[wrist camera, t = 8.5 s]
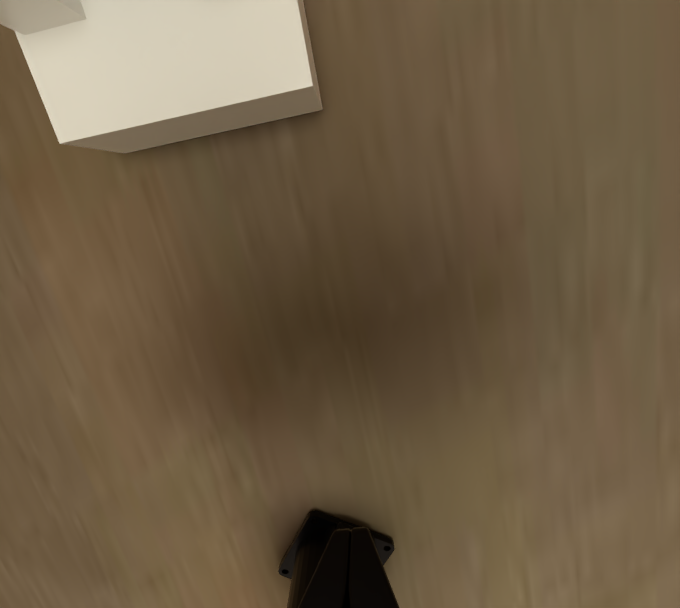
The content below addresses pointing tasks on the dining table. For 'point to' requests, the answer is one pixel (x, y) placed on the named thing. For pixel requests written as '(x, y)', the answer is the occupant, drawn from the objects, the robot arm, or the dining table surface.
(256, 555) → the dining table surface
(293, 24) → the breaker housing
